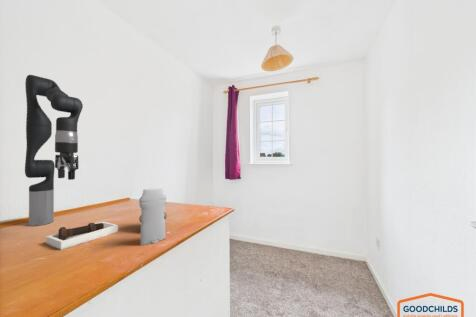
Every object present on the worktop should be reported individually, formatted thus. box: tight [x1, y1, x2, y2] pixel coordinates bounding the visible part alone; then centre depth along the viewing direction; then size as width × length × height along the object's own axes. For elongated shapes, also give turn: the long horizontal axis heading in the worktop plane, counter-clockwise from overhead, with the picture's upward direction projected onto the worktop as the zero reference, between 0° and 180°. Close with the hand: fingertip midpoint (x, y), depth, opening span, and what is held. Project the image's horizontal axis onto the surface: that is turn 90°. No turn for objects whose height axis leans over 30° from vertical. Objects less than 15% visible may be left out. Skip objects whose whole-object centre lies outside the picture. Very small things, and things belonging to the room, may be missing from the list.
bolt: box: [58, 222, 104, 240], centre depth 84 cm, size 6×5×15 cm
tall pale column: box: [139, 186, 167, 246], centre depth 80 cm, size 11×4×22 cm, turn 134°
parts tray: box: [45, 221, 119, 251], centre depth 84 cm, size 12×21×3 cm, turn 153°
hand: (66, 178), depth 86 cm, fingers open, 8 cm apart
